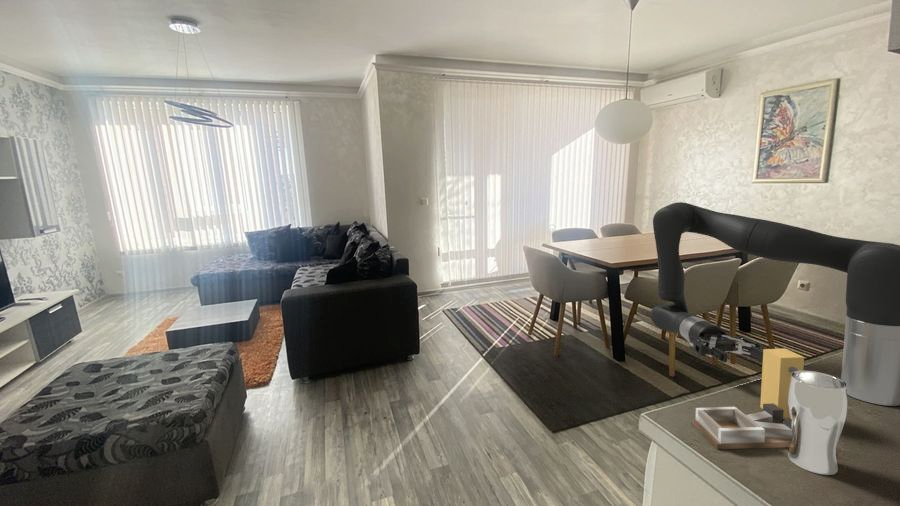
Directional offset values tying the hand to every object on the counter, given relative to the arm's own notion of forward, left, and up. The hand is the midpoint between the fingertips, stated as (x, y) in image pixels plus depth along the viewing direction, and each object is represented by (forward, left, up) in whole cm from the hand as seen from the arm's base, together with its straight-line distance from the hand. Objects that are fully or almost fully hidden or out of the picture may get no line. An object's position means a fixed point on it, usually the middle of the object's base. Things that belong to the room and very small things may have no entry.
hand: (744, 357), depth 87 cm
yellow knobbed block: (0, +10, -8) cm, 13 cm away
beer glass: (+6, +25, -8) cm, 27 cm away
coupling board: (+11, +17, -8) cm, 22 cm away
